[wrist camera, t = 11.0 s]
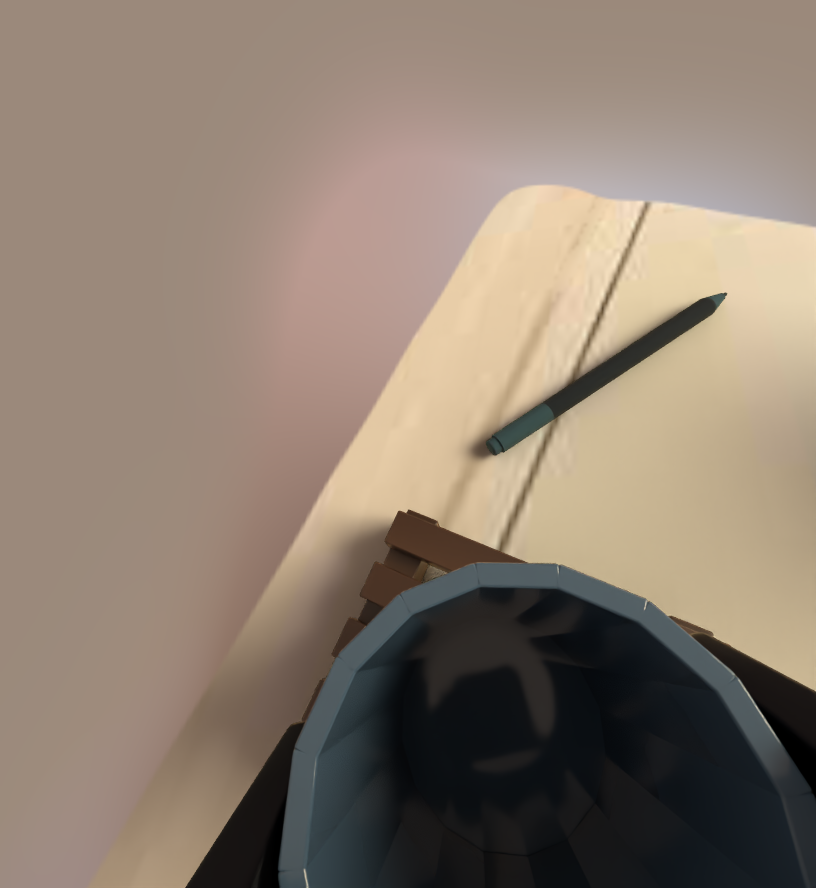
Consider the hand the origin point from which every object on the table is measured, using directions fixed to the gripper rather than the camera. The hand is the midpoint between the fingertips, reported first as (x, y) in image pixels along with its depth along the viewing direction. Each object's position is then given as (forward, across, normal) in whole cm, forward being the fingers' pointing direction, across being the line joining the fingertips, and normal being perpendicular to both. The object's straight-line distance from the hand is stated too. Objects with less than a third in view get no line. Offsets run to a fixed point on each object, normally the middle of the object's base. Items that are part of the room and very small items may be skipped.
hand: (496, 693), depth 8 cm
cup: (+4, 0, +6) cm, 7 cm away
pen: (+16, -10, -1) cm, 19 cm away
